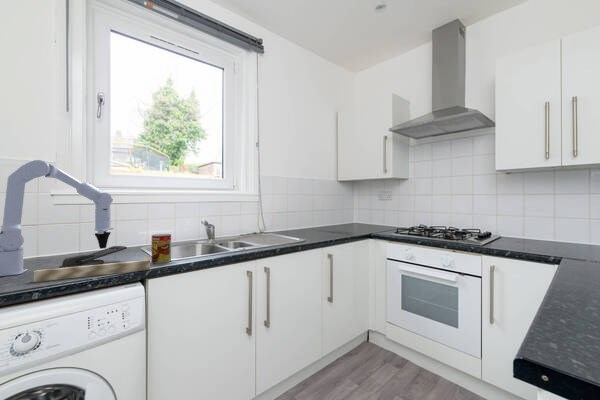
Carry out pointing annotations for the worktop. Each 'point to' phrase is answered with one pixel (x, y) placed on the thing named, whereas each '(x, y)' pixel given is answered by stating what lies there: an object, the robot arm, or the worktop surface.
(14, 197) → the robot arm
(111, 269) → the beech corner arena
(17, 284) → the worktop surface
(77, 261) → the dark grey elongated piece
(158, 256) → the canned food
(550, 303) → the worktop surface
